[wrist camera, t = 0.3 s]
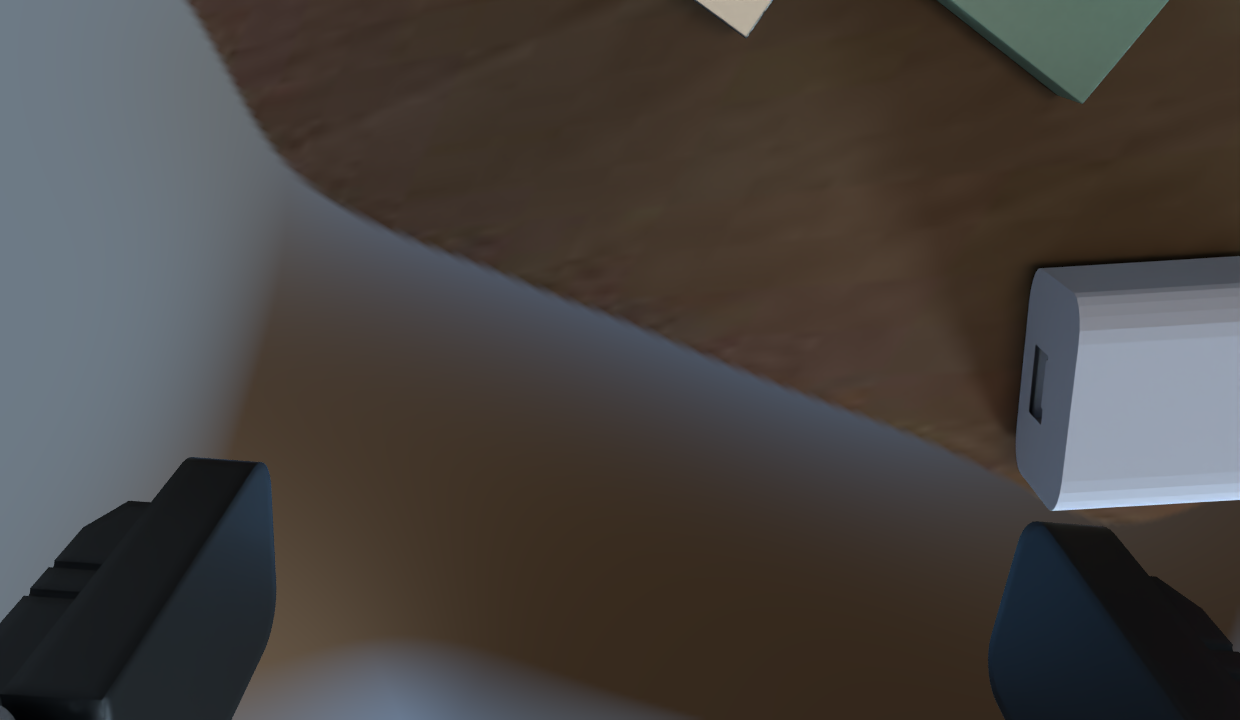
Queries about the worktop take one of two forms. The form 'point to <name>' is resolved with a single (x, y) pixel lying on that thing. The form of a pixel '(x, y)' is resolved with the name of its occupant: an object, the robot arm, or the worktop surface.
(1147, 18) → the block
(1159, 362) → the charger
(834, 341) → the worktop surface
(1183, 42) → the worktop surface
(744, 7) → the panel
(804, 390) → the worktop surface
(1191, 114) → the worktop surface
